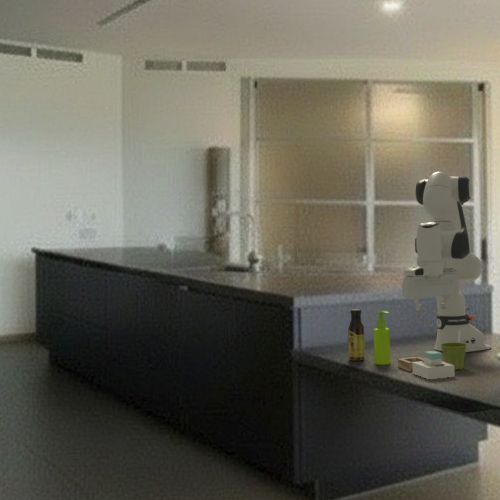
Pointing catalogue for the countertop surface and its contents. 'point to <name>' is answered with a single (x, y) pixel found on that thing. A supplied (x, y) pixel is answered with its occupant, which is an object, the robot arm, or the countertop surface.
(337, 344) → the countertop surface
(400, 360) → the brown wooden square frame
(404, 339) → the countertop surface
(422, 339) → the countertop surface
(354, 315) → the sauce bottle
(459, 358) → the plant pot
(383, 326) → the soap dispenser
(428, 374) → the port
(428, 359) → the plug
